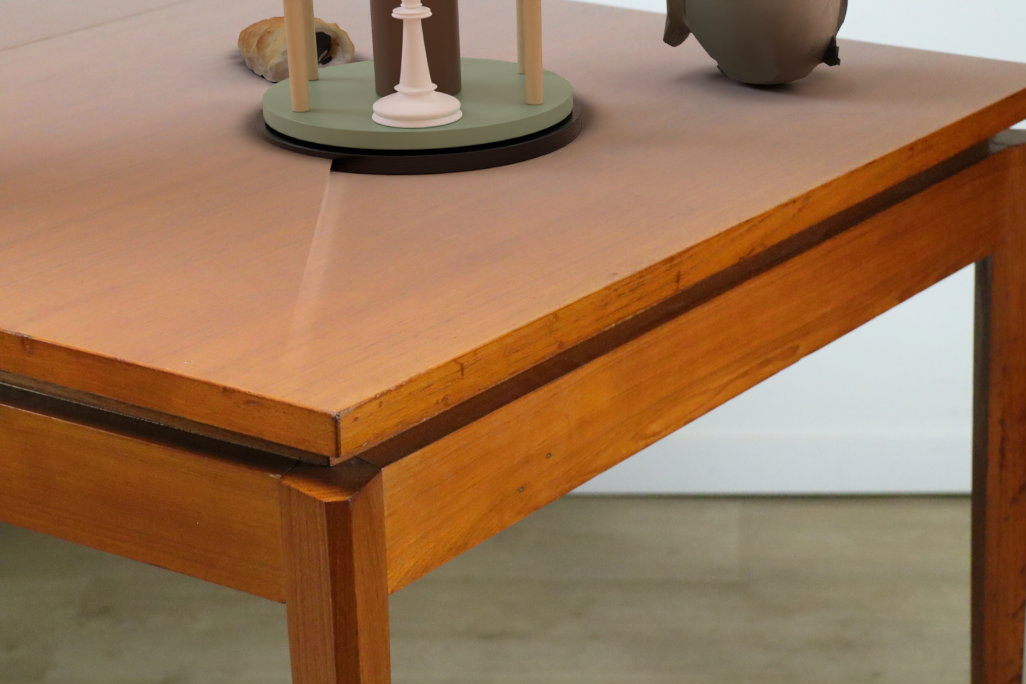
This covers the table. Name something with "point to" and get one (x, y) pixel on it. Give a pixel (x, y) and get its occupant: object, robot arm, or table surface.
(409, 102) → the chess piece
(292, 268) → the table surface
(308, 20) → the rack
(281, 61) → the pastry
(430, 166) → the rack base
